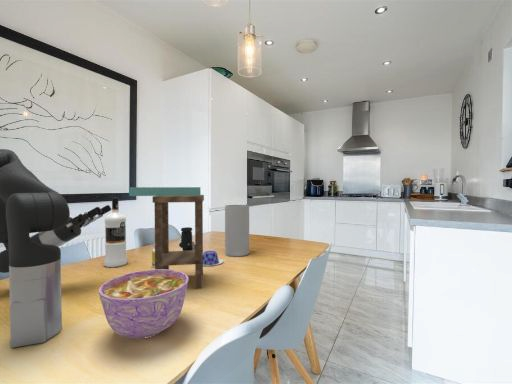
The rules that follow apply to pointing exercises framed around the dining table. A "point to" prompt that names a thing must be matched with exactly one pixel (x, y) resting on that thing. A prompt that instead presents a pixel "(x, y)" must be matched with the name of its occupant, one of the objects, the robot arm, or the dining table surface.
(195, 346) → the dining table surface
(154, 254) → the supplement bottle
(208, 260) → the blue teacup with saucer
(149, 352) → the dining table surface
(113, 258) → the vodka
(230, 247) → the cylinder vase
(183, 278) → the bowl of food
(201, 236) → the stand
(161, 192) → the teal bar
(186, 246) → the scope
